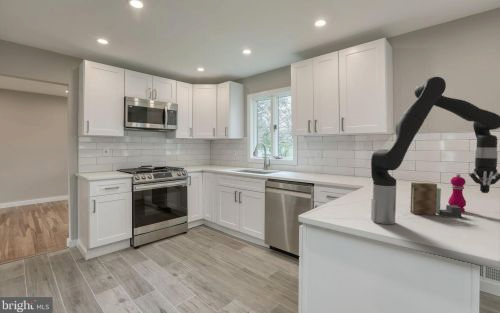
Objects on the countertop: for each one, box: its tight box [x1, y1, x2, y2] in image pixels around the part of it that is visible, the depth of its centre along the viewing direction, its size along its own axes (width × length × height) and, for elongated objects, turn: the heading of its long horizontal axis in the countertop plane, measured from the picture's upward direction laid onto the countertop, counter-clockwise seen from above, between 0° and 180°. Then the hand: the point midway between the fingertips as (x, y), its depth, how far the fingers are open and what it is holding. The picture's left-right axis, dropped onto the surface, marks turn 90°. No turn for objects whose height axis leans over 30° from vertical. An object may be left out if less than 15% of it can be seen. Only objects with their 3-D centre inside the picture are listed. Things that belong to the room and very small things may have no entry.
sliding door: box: [412, 187, 442, 214], centre depth 122 cm, size 12×1×12 cm, turn 75°
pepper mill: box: [447, 173, 467, 213], centre depth 128 cm, size 7×7×20 cm
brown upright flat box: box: [409, 181, 438, 216], centre depth 123 cm, size 10×4×16 cm, turn 75°
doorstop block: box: [436, 204, 462, 219], centre depth 120 cm, size 8×5×5 cm, turn 75°
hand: (484, 192), depth 116 cm, fingers closed
